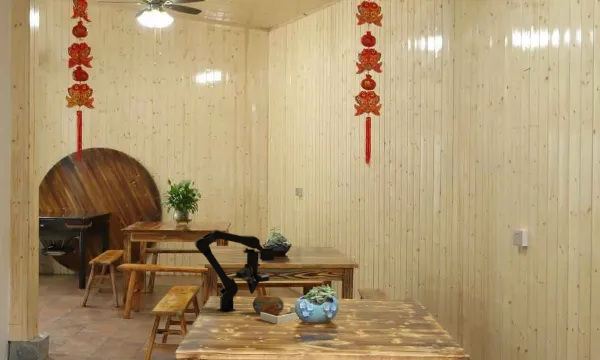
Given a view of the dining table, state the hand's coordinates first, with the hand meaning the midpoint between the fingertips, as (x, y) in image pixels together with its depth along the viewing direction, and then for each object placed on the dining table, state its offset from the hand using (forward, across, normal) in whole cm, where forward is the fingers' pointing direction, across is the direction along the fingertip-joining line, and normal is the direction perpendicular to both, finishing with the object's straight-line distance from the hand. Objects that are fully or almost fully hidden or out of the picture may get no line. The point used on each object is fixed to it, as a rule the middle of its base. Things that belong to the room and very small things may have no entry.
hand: (251, 293), depth 285 cm
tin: (+8, +12, 0) cm, 14 cm away
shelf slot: (+8, +23, 0) cm, 24 cm away
